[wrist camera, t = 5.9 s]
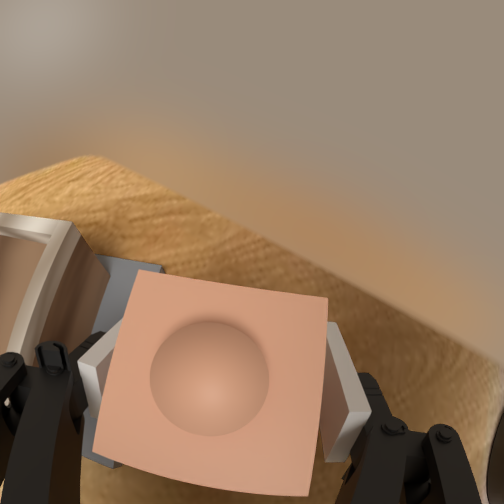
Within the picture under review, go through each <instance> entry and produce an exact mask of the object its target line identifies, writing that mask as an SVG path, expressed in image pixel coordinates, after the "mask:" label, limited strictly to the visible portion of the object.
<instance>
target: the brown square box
mask: <svg viewBox="0 0 504 504" xmlns="http://www.w3.org/2000/svg"><path fill="white" fill-rule="evenodd" d="M110 277H111V276H110V275H109V273H108V272H107V271H106V269H105V268H104V267H103V265H102V264H101V263H100V261H99V260H98V258H97V257H96V256H95V254H94V253H93V251H92V250H91V249H90V247H89V246H88V244H87V243H86V241H85V240H84V238H83V237H82V235H81V234H80V232H79V231H78V229H77V228H76V226H75V225H74V223H73V222H70V221H63V220H55V219H47V218H39V217H32V216H24V215H16V214H8V213H0V355H1V354H4V353H6V352H16V353H19V354H21V355H22V357H23V358H24V361H25V365H28V366H33V367H39V365H38V361H37V357H36V353H35V349H34V348H35V347H36V346H37V345H38V344H40V343H42V342H45V341H58V342H61V343H63V344H65V345H66V347H67V349H68V354H70V353H71V352H72V351H73V350H74V349H75V348H76V347H78V346H79V345H80V344H81V343H82V342H84V340H85V339H87V338H88V337H89V336H90V335H91V333H92V329H93V326H94V323H95V320H96V317H97V314H98V311H99V308H100V305H101V302H102V299H103V296H104V293H105V290H106V287H107V285H108V282H109V279H110ZM4 403H5V405H6V406H7V405H8V404H9V403H10V402H9V399H8V398H7V400H6V401H5V402H4Z"/></svg>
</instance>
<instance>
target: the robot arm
mask: <svg viewBox="0 0 504 504" xmlns="http://www.w3.org/2000/svg"><path fill="white" fill-rule="evenodd" d="M122 320H123V318H122V319H121V320H120V321H119V322H118V323H117V324H115V325H114V326H113V327H112V328H111V329H110V330H109V331H108V332H107V333H106V332H102V331H99V332H96V333H94V334H91V335H90V336H89V337H88V338H87V339H85V340H84V342H82V343H81V344H80V345H79V346H78V347H76V348H75V349H74V350H73V351H72V352H71V353H70V354H68V349H67V347H66V345H65V344H63V343H61V342H58V341H45V342H42V343H40V344H38V345H37V346H36V347H35V348H34V349H35V353H36V357H37V361H38V365H39V367H33V366H28V365H25V361H24V358H23V357H22V355H21V354H19V353H16V352H6V353H4V354H1V355H0V486H1V484H2V482H3V480H4V478H5V480H4V485H3V491H2V497H1V503H0V504H80V475H81V457H82V444H83V434H84V424H85V418H84V414H83V412H84V411H85V410H86V408H87V407H88V408H89V412H90V415H91V417H93V418H96V419H98V416H99V411H100V406H101V401H102V396H103V392H104V388H105V383H106V379H107V375H108V371H109V367H110V363H111V359H112V355H113V351H114V348H115V344H116V340H117V337H118V333H119V330H120V326H121V323H122ZM7 398H8V399H9V402H10V403H9V404H8V405H7V406H6V405H5V403H4V402H5V401H6V400H7ZM319 425H320V432H321V438H322V445H323V452H324V459H325V462H345V461H346V459H347V457H348V456H349V454H350V455H351V459H352V463H351V465H350V466H349V468H348V469H347V471H346V472H345V474H344V475H343V477H342V479H343V480H344V481H343V484H342V486H341V489H340V491H339V494H338V496H337V499H336V501H335V504H482V503H481V499H480V496H479V492H478V489H477V486H476V482H475V479H474V476H473V473H472V470H471V467H470V464H469V461H468V459H467V456H466V453H465V450H464V448H463V445H462V442H461V440H460V437H459V435H458V433H457V432H456V430H454V429H453V428H452V427H450V426H448V425H445V424H436V425H434V426H432V427H431V428H430V429H429V431H428V432H427V433H421V432H415V431H410V430H408V427H407V425H406V424H405V423H404V422H403V421H402V420H400V419H398V418H396V417H393V416H392V414H391V412H390V410H389V407H388V405H387V403H386V401H385V398H384V396H382V392H381V390H380V389H379V385H378V383H377V381H376V380H375V379H374V378H373V377H372V376H371V375H370V374H369V373H357V372H356V370H355V367H354V365H353V362H352V360H351V357H350V355H349V352H348V350H347V347H346V345H345V343H344V340H343V338H342V335H341V333H340V331H339V328H338V326H337V323H336V322H328V321H327V338H326V354H325V368H324V380H323V391H322V401H321V411H320V419H319ZM488 498H489V502H490V504H504V414H503V416H502V419H501V422H500V424H499V427H498V430H497V434H496V437H495V441H494V444H493V448H492V453H491V458H490V464H489V471H488Z"/></svg>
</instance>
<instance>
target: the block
mask: <svg viewBox="0 0 504 504" xmlns="http://www.w3.org/2000/svg"><path fill="white" fill-rule="evenodd" d="M327 318H328V298H324V297H316V296H308V295H301V294H293V293H286V292H278V291H271V290H264V289H257V288H250V287H243V286H236V285H230V284H223V283H217V282H210V281H204V280H198V279H192V278H186V277H180V276H174V275H168V274H162V273H156V272H151V271H145V270H140V269H139V270H138V273H137V276H136V279H135V282H134V285H133V288H132V291H131V294H130V297H129V300H128V303H127V307H126V310H125V313H124V316H123V320H122V323H121V326H120V330H119V333H118V337H117V340H116V344H115V348H114V351H113V355H112V359H111V363H110V367H109V371H108V375H107V379H106V383H105V388H104V392H103V396H102V401H101V406H100V411H99V416H98V421H97V426H96V432H95V437H94V443H93V450H92V452H94V453H97V454H99V455H102V456H104V457H107V458H109V459H112V460H114V461H117V462H120V463H122V464H125V465H128V466H131V467H134V468H137V469H140V470H143V471H146V472H149V473H153V474H156V475H160V476H163V477H167V478H171V479H175V480H179V481H183V482H187V483H192V484H196V485H201V486H206V487H211V488H217V489H223V490H230V491H237V492H245V493H254V494H265V495H280V496H308V494H309V488H310V482H311V477H312V470H313V464H314V457H315V451H316V443H317V436H318V428H319V419H320V411H321V401H322V391H323V380H324V368H325V354H326V338H327Z"/></svg>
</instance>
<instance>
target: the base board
mask: <svg viewBox="0 0 504 504" xmlns="http://www.w3.org/2000/svg"><path fill="white" fill-rule="evenodd" d="M95 256H96V257H97V258H98V260H99V261H100V263H101V264H102V265H103V267H104V268H105V269H106V271H107V272H108V273H109V275H110V276H111V277H110V279H109V282H108V285H107V287H106V290H105V293H104V296H103V299H102V302H101V305H100V308H99V311H98V314H97V317H96V320H95V323H94V326H93V329H92V333H91V334H94V333H96V332H99V331H102V332H106V333H107V332H108V331H109V330H110V329H111V328H112V327H113V326H114V325H115V324H117V323H118V322H119V321H120V320H121V319H122V318H123V316H124V313H125V310H126V307H127V303H128V300H129V297H130V294H131V291H132V288H133V285H134V282H135V279H136V276H137V273H138V270H139V269H140V270H145V271H151V272H156V273H162V274H165V272H164V270H163V268H162V265H156V264H150V263H144V262H138V261H132V260H127V259H121V258H115V257H110V256H104V255H99V254H95ZM83 414H84V418H85V424H84V434H83V444H82V456H84V457H86V458H88V459H90V460H92V461H95V462H97V463H99V464H102V465H104V466H107V467H109V468H112V469H114V468H118V467H121V466H122V463H120V462H117V461H114V460H112V459H109V458H107V457H104V456H102V455H99V454H97V453H94V452H92V450H93V443H94V437H95V432H96V426H97V421H98V419H96V418H93V417H91V415H90V412H89V408H88V407H87V408H86V410H85V411H84V412H83Z"/></svg>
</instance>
